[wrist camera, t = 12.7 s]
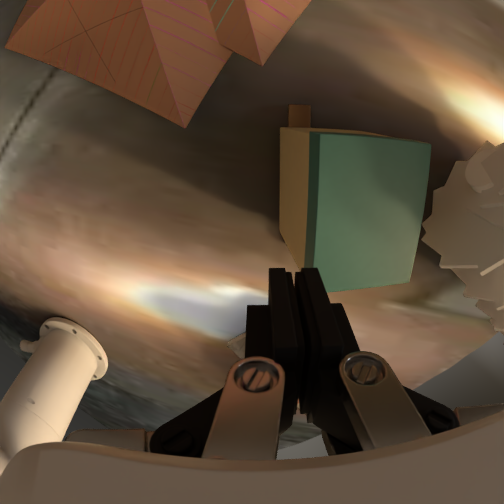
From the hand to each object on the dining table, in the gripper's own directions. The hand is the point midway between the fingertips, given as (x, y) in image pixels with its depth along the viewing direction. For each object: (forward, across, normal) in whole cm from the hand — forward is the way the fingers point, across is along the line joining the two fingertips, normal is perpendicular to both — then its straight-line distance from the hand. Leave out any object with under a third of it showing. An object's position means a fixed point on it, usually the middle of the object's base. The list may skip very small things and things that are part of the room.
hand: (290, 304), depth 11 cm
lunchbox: (+13, -2, 0) cm, 13 cm away
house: (+20, +12, -23) cm, 33 cm away
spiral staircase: (+20, -27, +3) cm, 34 cm away
